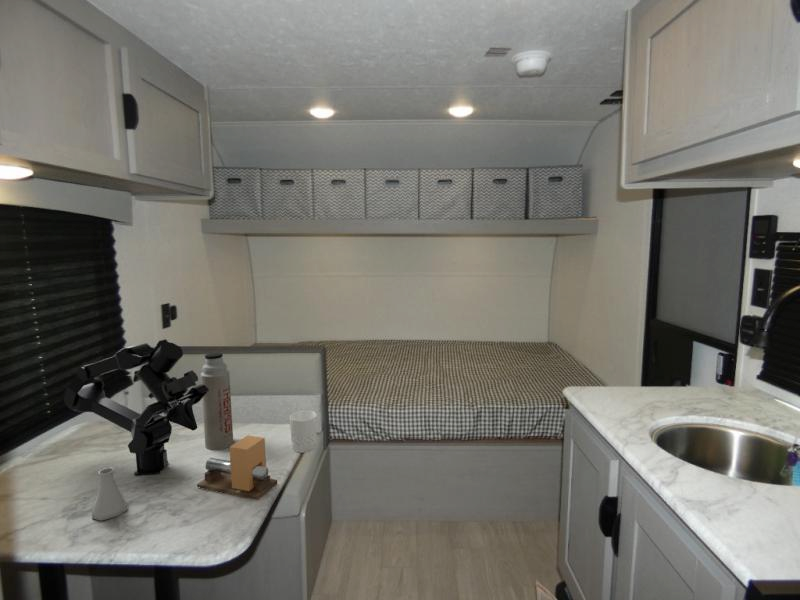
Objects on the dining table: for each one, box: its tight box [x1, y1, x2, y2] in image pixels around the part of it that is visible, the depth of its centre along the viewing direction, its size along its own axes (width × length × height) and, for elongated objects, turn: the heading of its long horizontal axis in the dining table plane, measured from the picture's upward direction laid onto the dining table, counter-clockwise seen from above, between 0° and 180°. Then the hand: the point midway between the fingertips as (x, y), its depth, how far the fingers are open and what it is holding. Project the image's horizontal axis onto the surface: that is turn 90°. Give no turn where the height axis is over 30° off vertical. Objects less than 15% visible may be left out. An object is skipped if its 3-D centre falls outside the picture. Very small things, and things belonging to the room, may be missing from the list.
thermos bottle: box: [200, 352, 234, 451], centre depth 139 cm, size 8×8×28 cm
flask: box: [91, 466, 129, 522], centre depth 105 cm, size 7×7×10 cm
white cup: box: [289, 410, 318, 454], centre depth 137 cm, size 8×8×10 cm
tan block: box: [229, 435, 267, 491], centre depth 115 cm, size 5×7×10 cm
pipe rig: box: [196, 457, 278, 501], centre depth 116 cm, size 18×8×6 cm, turn 71°
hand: (195, 429), depth 119 cm, fingers closed
